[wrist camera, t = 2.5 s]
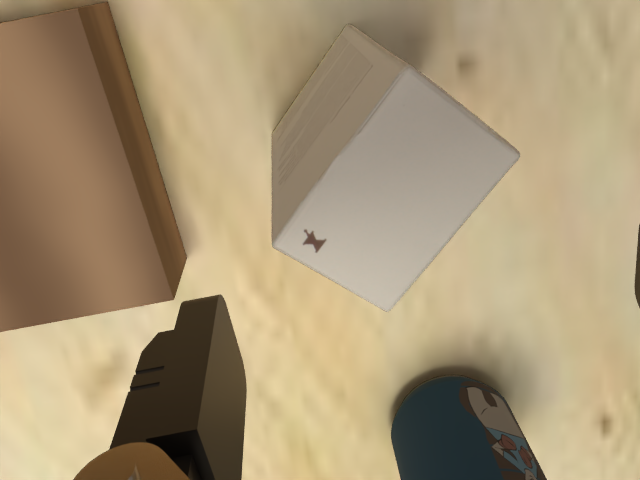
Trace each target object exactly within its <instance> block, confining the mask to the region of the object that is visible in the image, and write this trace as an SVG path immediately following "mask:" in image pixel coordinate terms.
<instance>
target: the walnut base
mask: <svg viewBox="0 0 640 480" xmlns="http://www.w3.org/2000/svg"><path fill="white" fill-rule="evenodd" d="M186 259H187V257H186V254H185V250H184V247H183V244H182V241H181V237H180V234H179V231H178V228H177V225H176V221H175V218H174V215H173V212H172V208H171V205H170V202H169V199H168V195H167V192H166V189H165V186H164V183H163V179H162V176H161V173H160V170H159V166H158V163H157V160H156V157H155V154H154V150H153V147H152V144H151V141H150V137H149V134H148V131H147V128H146V124H145V121H144V118H143V115H142V112H141V108H140V105H139V102H138V99H137V95H136V92H135V89H134V86H133V82H132V79H131V76H130V73H129V70H128V66H127V63H126V60H125V57H124V53H123V50H122V47H121V44H120V40H119V37H118V34H117V31H116V28H115V24H114V21H113V18H112V15H111V11H110V8H109V5H108V2H105V3H100V4H94V5H89V6H84V7H79V8H74V9H69V10H63V11H58V12H53V13H48V14H43V15H38V16H32V17H27V18H22V19H17V20H12V21H7V22H2V23H0V332H3V331H8V330H13V329H19V328H24V327H30V326H35V325H40V324H46V323H51V322H57V321H62V320H68V319H73V318H78V317H84V316H89V315H95V314H100V313H105V312H111V311H116V310H122V309H127V308H132V307H138V306H143V305H149V304H154V303H159V302H165V301H170V300H174V298H175V295H176V291H177V288H178V285H179V282H180V279H181V275H182V272H183V269H184V266H185V263H186Z"/></svg>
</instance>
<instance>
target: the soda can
mask: <svg viewBox="0 0 640 480" xmlns="http://www.w3.org/2000/svg"><path fill="white" fill-rule="evenodd" d="M391 439H392V444H393V449H394V453H395V457H396V461H397V465H398V469H399V474H400V478H401V480H547V479H546V477H545V475H544V473H543V471H542V469H541V467H540V465H539V463H538V462H537V460H536V458H535V456H534V454H533V452H532V450H531V448H530V446H529V444H528V442H527V440H526V438H525V436H524V434H523V433H522V431H521V429H520V427H519V425H518V423H517V421H516V419H515V417H514V415H513V413H512V411H511V409H510V407H509V405H508V404H507V402H506V401H505V399H504V398H503V397H502V396H501V395H500V394H499V393H498V392H497V391H496V390H494V389H493V388H491V387H490V386H488V385H486V384H484V383H481V382H479V381H476V380H473V379H471V378H468V377H464V376H458V375H447V376H440V377H436V378H433V379H430V380H428V381H425V382H423V383H422V384H420V385H418V386H417V387H416V388H414V389H413V390H412V391H411V392H410V393H409V394H408V395H407V397H406V398H405V399H404V401H403V403H402V404H401V406H400V408H399V410H398V411H397V413H396V415H395V418H394V421H393V424H392V430H391Z"/></svg>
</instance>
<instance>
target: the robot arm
mask: <svg viewBox="0 0 640 480" xmlns="http://www.w3.org/2000/svg"><path fill="white" fill-rule="evenodd" d="M635 295H636V299H637V302H638V305H639V307H640V225H639V233H638V247H637V261H636V274H635ZM135 372H136V375H134V377H133V380H132V383H131V386H130V392H128V395H127V398H126V401H125V404H124V407H123V410H122V413H121V416H120V419H119V422H118V425H117V428H116V431H115V434H114V437H113V440H112V443H111V446H110V449H109V450H108V451H106V452H104V453H102V454H101V455H99V456H97V457H96V458H95V459H93V460H92V461H90V462H89V463H88V464H87V465H86V466H85V467H84V468H83V469H82V470H81V471H80V472H79V473H78V474H77V475H76V477H75V478H74V479H73V480H241V476H242V460H243V443H244V426H245V410H246V392H247V389H246V377H245V370H244V365H243V361H242V357H241V353H240V350H239V347H238V343H237V340H236V336H235V333H234V330H233V326H232V323H231V319H230V316H229V312H228V309H227V306H226V303H225V300H224V298H223V296H222V295H215V296H210V297H205V298H200V299H194V300H189V301H184V302H182V303H181V306H180V310H179V313H178V317H177V321H176V325H175V328H174V330H170V331H165V332H159V333H158V334H157V335H156V336H155V337H154V338H153V340H152V341H151V342H150V343H149V344H148V345H147V346H146V348H145V349H144V350H143V351H142V353H141V356H140V359H139V362H138V365H137V368H136V371H135Z"/></svg>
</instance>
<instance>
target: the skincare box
mask: <svg viewBox="0 0 640 480" xmlns="http://www.w3.org/2000/svg"><path fill="white" fill-rule="evenodd" d="M519 158H520V153H519V151H518V150H517V149H516V148H515V147H513V146H512V145H511V144H510V143H509V142H507V141H506V140H505V139H504V138H502V137H501V136H500V135H499V134H498V133H496V132H495V131H494V130H493V129H491V128H490V127H489V126H488V125H486V124H485V123H484V122H483V121H481V120H480V119H479V118H478V117H477V116H475V115H474V114H473V113H472V112H470V111H469V110H468V109H467V108H465V107H464V106H463V105H462V104H460V103H459V102H458V101H457V100H455V99H454V98H453V97H452V96H450V95H449V94H448V93H447V92H445V91H444V90H443V89H442V88H440V87H439V86H438V85H436V84H435V83H434V82H432V81H431V80H430V79H429V78H427V77H426V76H425V75H423V74H422V73H421V72H419V71H418V70H417V69H415V68H414V67H413V66H411V65H410V64H408V63H407V62H405V61H403V60H402V59H400V58H399V57H397V56H395V55H394V54H392V53H391V52H389V51H388V50H386V49H385V48H384V47H382V46H381V45H379V44H378V43H377V42H375V41H374V40H372V39H371V38H370V37H368V36H367V35H366V34H364V33H363V32H361V31H360V30H358V29H357V28H356V27H354V26H353V25H350V24H348V25H346V26H345V28H344V29H343V30H342V32H341V33H340V35H339V36H338V38H337V39H336V41H335V42H334V43H333V45H332V46H331V48H330V49H329V51H328V52H327V54H326V55H325V57H324V58H323V60H322V61H321V62H320V64H319V65H318V67H317V68H316V70H315V71H314V73H313V74H312V76H311V77H310V78H309V80H308V81H307V83H306V84H305V86H304V87H303V89H302V90H301V92H300V93H299V94H298V96H297V97H296V99H295V100H294V102H293V103H292V105H291V106H290V108H289V109H288V111H287V112H286V114H285V115H284V116H283V118H282V119H281V121H280V122H279V124H278V125H277V127H276V128H275V130H274V131H273V133H272V246H273V248H275V249H276V250H278V251H280V252H282V253H284V254H285V255H287V256H289V257H291V258H293V259H294V260H296V261H298V262H300V263H302V264H303V265H305V266H307V267H309V268H310V269H312V270H314V271H316V272H318V273H319V274H321V275H323V276H325V277H326V278H328V279H330V280H332V281H333V282H335V283H337V284H339V285H340V286H342V287H344V288H346V289H347V290H349V291H351V292H353V293H354V294H356V295H358V296H359V297H361V298H363V299H365V300H366V301H368V302H370V303H372V304H374V305H375V306H377V307H379V308H381V309H382V310H384V311H386V312H388V311H390V310H391V309H392V308H393V307H394V305H395V304H396V303H397V302H398V301H399V300H400V298H401V297H402V296H403V295H404V294H405V293H406V291H407V290H408V289H409V288H410V287H411V286H412V284H413V283H414V282H415V281H416V280H417V279H418V277H419V276H420V275H421V274H422V273H423V271H424V270H425V269H426V268H427V267H428V266H429V264H430V263H431V262H432V261H433V260H434V258H435V257H436V256H437V255H438V254H439V252H440V251H441V250H442V249H443V248H444V246H445V245H446V244H447V243H448V242H449V240H450V239H451V238H452V237H453V236H454V234H455V233H456V232H457V231H458V230H459V228H460V227H461V226H462V225H463V223H464V222H465V221H466V220H467V219H468V218H469V216H470V215H471V214H472V213H473V212H474V210H475V209H476V208H477V207H478V206H479V204H480V203H481V202H482V201H483V200H484V199H485V197H486V196H487V195H488V194H489V192H490V191H491V190H492V189H493V188H494V187H495V185H496V184H497V183H498V182H499V181H500V180H501V178H502V177H503V176H504V175H505V174H506V173H507V171H508V170H509V169H510V168H511V167H512V166H513V165H514V164H515V163H516V161H517V160H518V159H519Z"/></svg>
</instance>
